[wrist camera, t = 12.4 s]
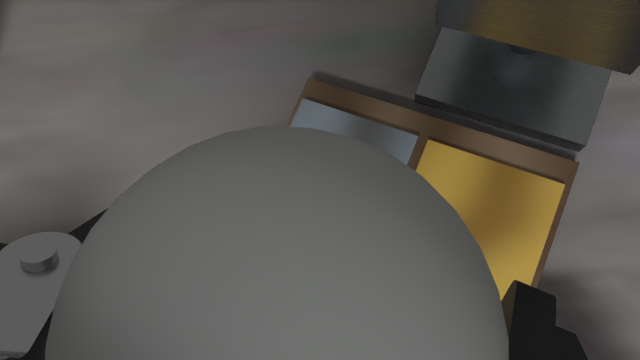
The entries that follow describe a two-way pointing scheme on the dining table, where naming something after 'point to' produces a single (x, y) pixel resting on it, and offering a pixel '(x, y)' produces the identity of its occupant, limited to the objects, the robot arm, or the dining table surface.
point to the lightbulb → (279, 261)
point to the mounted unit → (530, 63)
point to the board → (460, 174)
